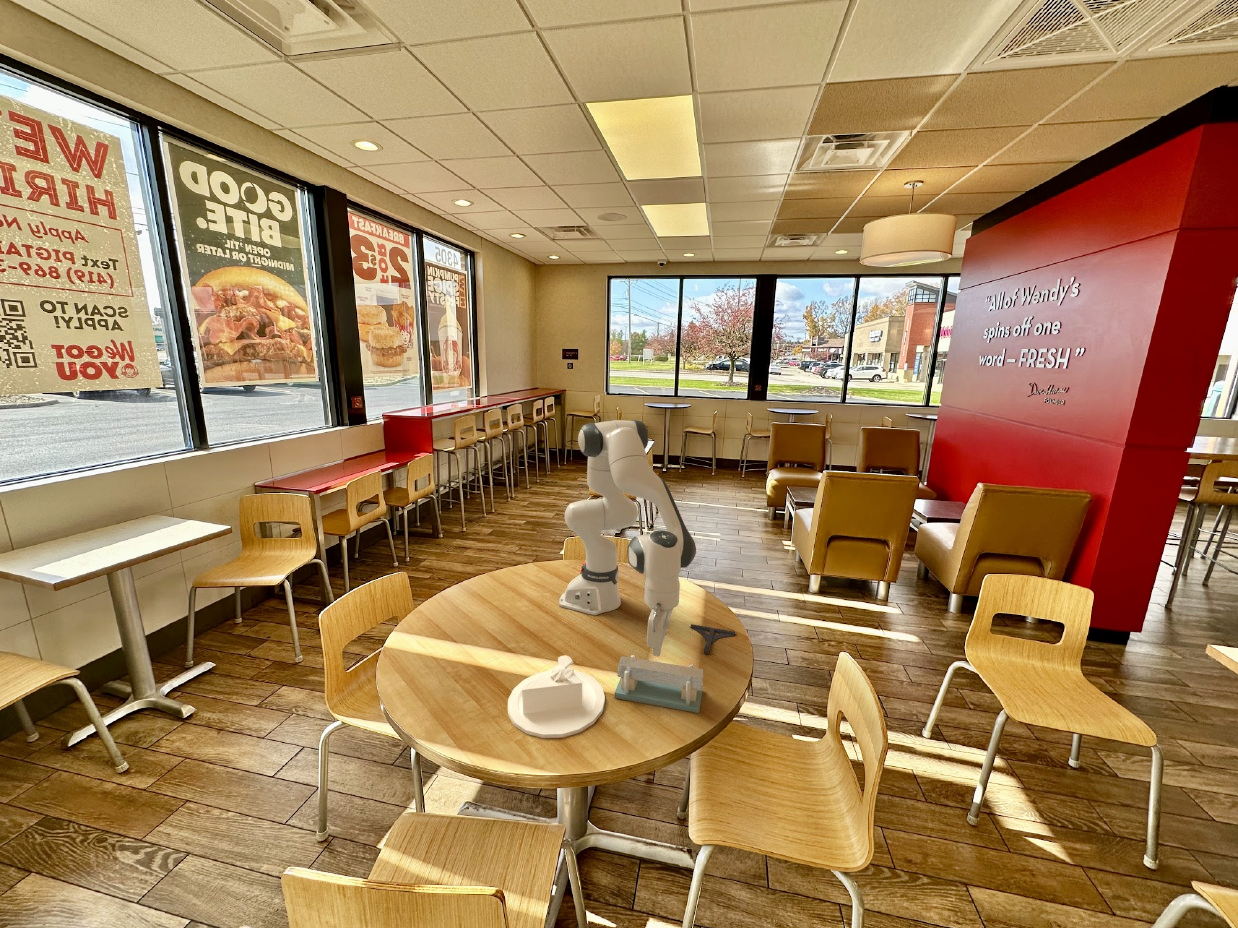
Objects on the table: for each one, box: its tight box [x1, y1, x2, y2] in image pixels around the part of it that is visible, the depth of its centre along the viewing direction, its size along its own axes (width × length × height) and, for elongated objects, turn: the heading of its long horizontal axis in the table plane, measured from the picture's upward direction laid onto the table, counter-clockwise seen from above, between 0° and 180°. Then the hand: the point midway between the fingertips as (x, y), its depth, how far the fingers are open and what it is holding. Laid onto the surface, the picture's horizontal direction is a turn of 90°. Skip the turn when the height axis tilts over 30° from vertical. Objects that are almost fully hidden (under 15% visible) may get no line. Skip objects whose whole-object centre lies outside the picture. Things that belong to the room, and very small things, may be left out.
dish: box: [507, 655, 606, 739], centre depth 127 cm, size 25×25×11 cm
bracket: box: [690, 623, 736, 656], centre depth 156 cm, size 14×15×3 cm
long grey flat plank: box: [617, 655, 704, 691], centre depth 130 cm, size 22×4×4 cm, turn 76°
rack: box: [614, 654, 704, 714], centre depth 130 cm, size 22×9×8 cm, turn 75°
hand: (660, 643), depth 128 cm, fingers open, 8 cm apart
